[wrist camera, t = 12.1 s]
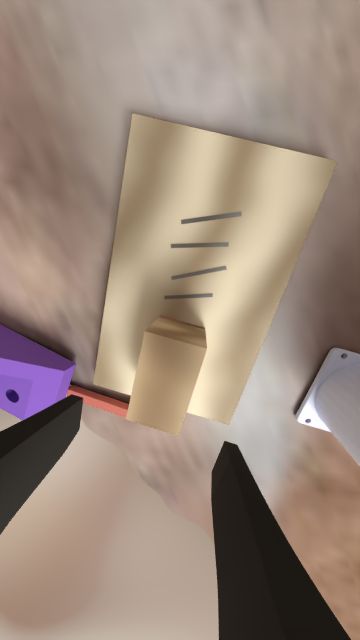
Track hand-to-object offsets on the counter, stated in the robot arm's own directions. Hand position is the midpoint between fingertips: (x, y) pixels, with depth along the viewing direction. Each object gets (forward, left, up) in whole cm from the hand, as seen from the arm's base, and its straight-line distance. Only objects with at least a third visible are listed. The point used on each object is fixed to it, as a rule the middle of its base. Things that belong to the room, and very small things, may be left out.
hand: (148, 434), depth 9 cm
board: (0, -6, -9) cm, 11 cm away
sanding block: (0, 0, -8) cm, 8 cm away
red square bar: (+6, +7, -9) cm, 13 cm away
